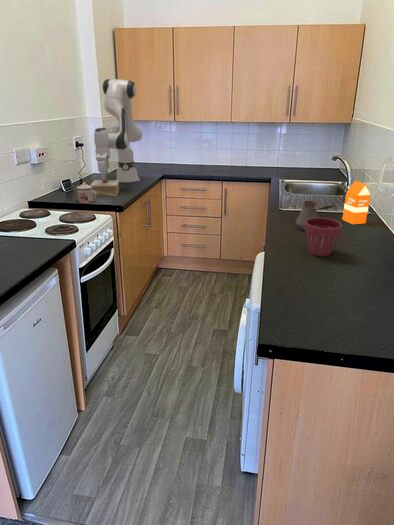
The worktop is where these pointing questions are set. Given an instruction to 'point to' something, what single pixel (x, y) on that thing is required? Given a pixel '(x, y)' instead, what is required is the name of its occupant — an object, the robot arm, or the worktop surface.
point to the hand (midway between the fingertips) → (105, 177)
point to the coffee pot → (308, 213)
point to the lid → (105, 182)
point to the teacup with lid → (85, 193)
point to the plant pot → (322, 235)
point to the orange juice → (356, 203)
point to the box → (106, 190)
